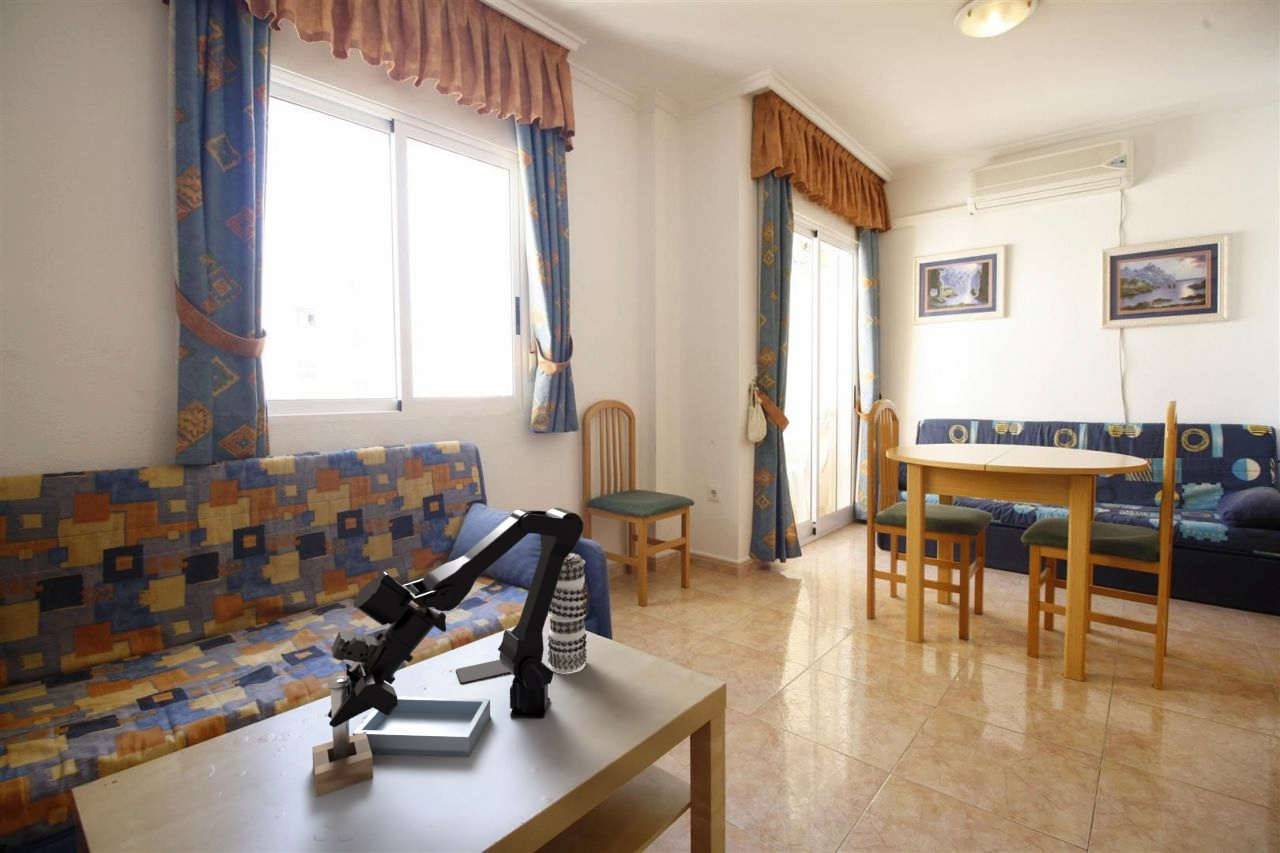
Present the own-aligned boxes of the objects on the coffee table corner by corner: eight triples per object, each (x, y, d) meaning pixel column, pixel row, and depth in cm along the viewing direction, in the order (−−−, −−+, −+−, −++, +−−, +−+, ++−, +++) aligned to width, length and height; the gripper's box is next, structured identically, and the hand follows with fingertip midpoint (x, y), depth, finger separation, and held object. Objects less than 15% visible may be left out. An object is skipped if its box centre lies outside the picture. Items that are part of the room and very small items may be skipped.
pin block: (366, 751, 101) (365, 731, 100) (373, 777, 94) (372, 756, 94) (313, 767, 96) (312, 747, 96) (316, 796, 90) (315, 774, 89)
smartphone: (455, 668, 129) (522, 654, 136) (455, 672, 129) (522, 658, 136) (460, 683, 123) (530, 667, 129) (460, 687, 123) (530, 671, 129)
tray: (490, 716, 111) (490, 698, 111) (468, 756, 99) (468, 736, 99) (387, 713, 112) (386, 696, 112) (353, 753, 100) (352, 733, 100)
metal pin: (357, 752, 96) (353, 675, 95) (346, 764, 93) (342, 685, 92) (338, 751, 97) (334, 675, 96) (326, 764, 93) (323, 685, 92)
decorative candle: (544, 658, 135) (543, 551, 133) (584, 653, 137) (584, 548, 135) (548, 677, 126) (547, 563, 124) (591, 672, 128) (590, 560, 126)
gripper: (356, 594, 103) (286, 672, 98) (371, 633, 87) (288, 727, 82) (405, 628, 108) (340, 703, 103) (428, 670, 92) (353, 761, 87)
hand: (330, 721), depth 94 cm, fingers closed on metal pin, 2 cm apart
